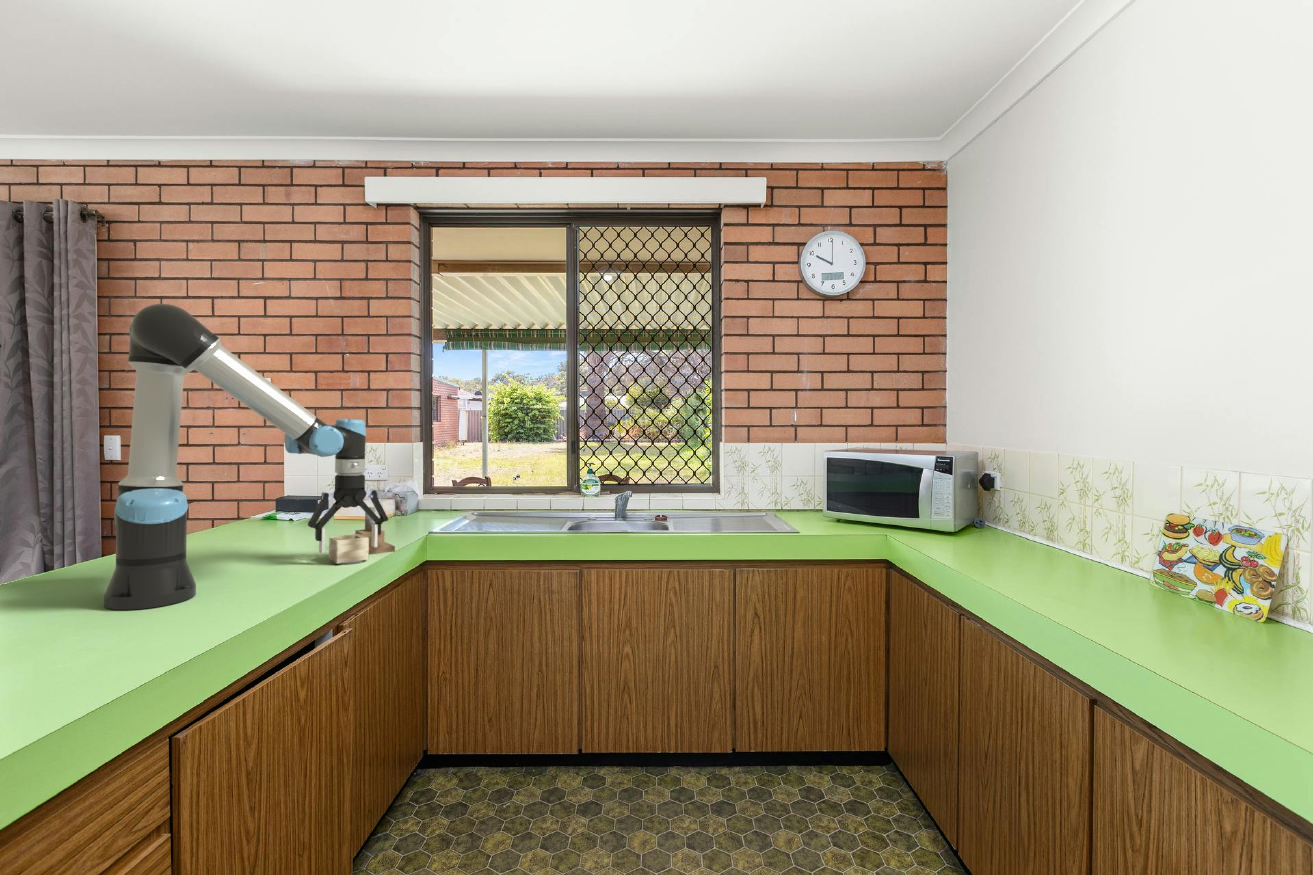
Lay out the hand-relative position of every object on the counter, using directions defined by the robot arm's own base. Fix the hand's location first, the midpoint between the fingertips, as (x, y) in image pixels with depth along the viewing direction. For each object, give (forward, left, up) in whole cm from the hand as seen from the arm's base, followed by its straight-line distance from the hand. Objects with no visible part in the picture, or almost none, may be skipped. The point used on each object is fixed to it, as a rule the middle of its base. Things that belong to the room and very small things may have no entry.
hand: (348, 549), depth 167 cm
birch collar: (0, 0, -3) cm, 3 cm away
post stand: (+9, +11, -3) cm, 15 cm away
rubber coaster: (0, 0, -3) cm, 3 cm away
